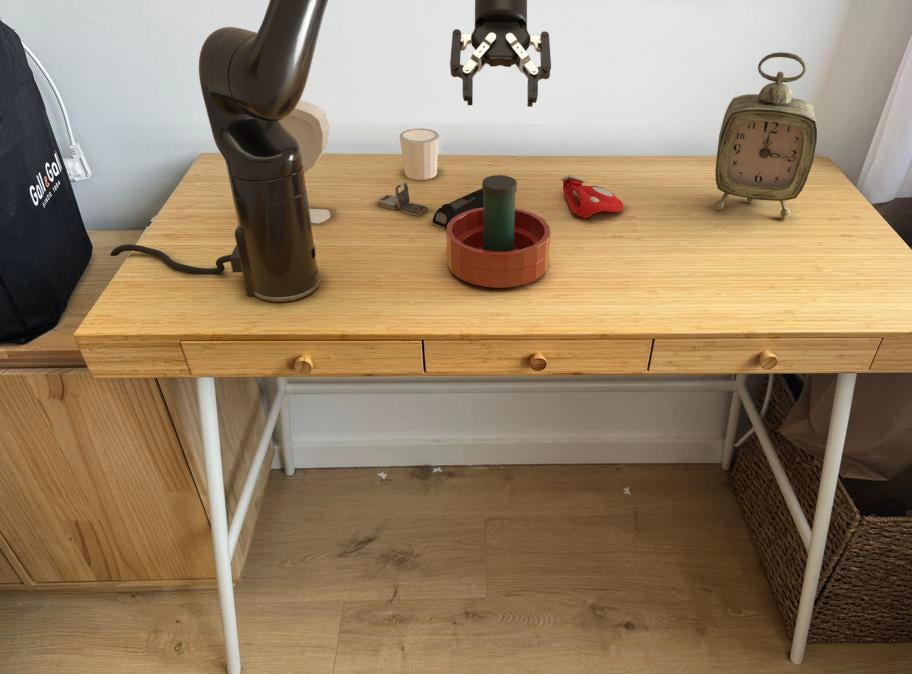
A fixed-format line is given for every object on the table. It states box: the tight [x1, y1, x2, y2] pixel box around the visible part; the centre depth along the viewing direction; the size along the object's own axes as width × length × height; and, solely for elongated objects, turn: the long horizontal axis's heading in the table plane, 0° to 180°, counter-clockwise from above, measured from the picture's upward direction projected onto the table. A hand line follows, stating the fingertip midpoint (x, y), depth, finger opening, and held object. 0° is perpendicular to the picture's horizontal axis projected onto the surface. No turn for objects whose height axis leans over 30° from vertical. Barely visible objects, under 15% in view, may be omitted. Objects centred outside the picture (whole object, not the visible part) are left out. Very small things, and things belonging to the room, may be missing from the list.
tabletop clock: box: [713, 51, 818, 219], centre depth 129 cm, size 14×9×25 cm, turn 76°
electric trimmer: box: [432, 187, 483, 230], centre depth 132 cm, size 4×16×3 cm, turn 142°
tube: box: [481, 174, 518, 252], centre depth 114 cm, size 5×5×12 cm
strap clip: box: [376, 181, 429, 217], centre depth 132 cm, size 8×3×4 cm, turn 62°
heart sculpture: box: [279, 99, 331, 225], centre depth 125 cm, size 16×5×18 cm, turn 85°
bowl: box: [445, 207, 551, 289], centre depth 117 cm, size 15×15×6 cm
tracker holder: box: [560, 175, 624, 219], centre depth 134 cm, size 12×4×10 cm
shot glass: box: [399, 127, 440, 181], centre depth 142 cm, size 7×7×7 cm
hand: (500, 103), depth 115 cm, fingers open, 8 cm apart
